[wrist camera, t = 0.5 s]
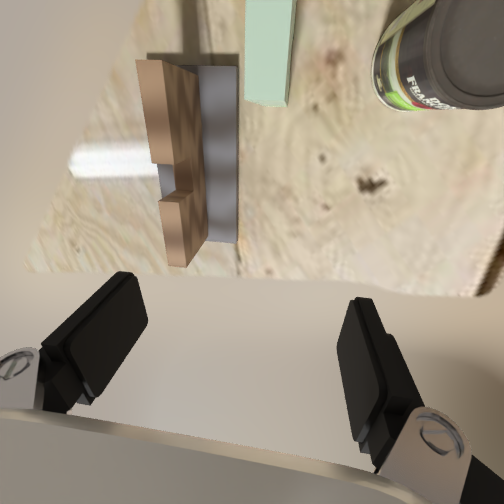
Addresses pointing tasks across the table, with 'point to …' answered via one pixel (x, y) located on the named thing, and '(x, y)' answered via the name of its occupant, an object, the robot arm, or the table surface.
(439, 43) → the coffee can
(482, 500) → the robot arm
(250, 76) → the green slat
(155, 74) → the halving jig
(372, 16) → the table surface
